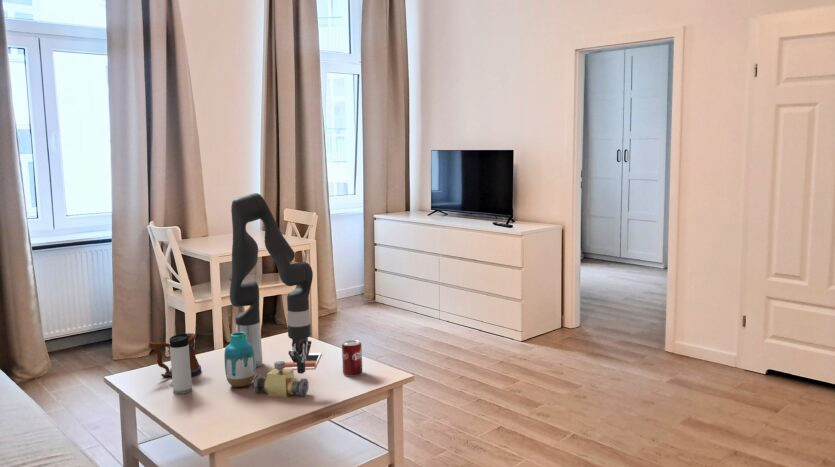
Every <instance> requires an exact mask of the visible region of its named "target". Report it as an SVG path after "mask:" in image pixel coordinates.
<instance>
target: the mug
mask: <svg viewBox="0 0 835 467" xmlns="http://www.w3.org/2000/svg"><path fill="white" fill-rule="evenodd" d="M186 334H187V335H188V344H189V356H190V369H191V377H195V376H198V375H199V374H200V373H201V371H202V366H201V365H200V364H199V361H198V359H197V357H196V351H195V344H196V343H195V340H196V333H190V332H188V333H186ZM160 347H164V348H165V347H167V348H168V350H167V353H168V354H169V356H170V357H171V355H170V343H168V342H153V341H150V342H148V348H150V349H152V348H153V349H154V351H155V352H156V354H157V356H156V357H157V358H156V359H157V360H156V361H157V366H158V367H159V368H163V369H165V372H164V373H161V374H160V375H161V377H163V378H169V377H172V368H171V367H170V368H169V366H168V365H166V364H165V363H164V362H163V354H162V353H163V352H162V351H161V349H160Z"/></svg>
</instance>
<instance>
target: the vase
mask: <svg viewBox="0 0 835 467" xmlns="http://www.w3.org/2000/svg"><path fill="white" fill-rule="evenodd" d="M223 358H224V369H225V370H224V371H225V376H226V380H227V383H228V384H229V385H231V386H232V387H235V388H242V387H246V386H249V385H251V384H252V383H254V379H255V377H256V368H255V353H254V348H253V345H252V344H251V343H249V342H247V338H246V333H245V332H233V333H231V334H230V343H229V344H228V345H226V346H225V349H224V357H223Z"/></svg>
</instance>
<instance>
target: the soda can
mask: <svg viewBox="0 0 835 467" xmlns="http://www.w3.org/2000/svg"><path fill="white" fill-rule="evenodd" d="M362 345H363V344H362V342H361V341H359V340H356V339H349V340H345V341H343V342H342V344H341V354H342V356H341V357H342V358H341V359H342V360H341V361H342V373H343V375H344V376H345V377H352V378H353V377H358V376H360V375H362V374H363V350H362Z"/></svg>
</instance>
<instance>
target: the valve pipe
mask: <svg viewBox="0 0 835 467" xmlns="http://www.w3.org/2000/svg"><path fill="white" fill-rule="evenodd" d="M294 372H295V371H294V370H293V369H292V368H283V369H275V367H274V368H273V369H271V370H270V371H269V372H267V373H266V377H264V375H263V374H257V375H255V378H254V380H253V382H252V383H253V384H252V386H253V391H254V392H255V393H261V392H262V391H264V392H265V393H267V396H268V397H275V398H284V399H287V398H288V397H289V396H294V395H296V394H298V396H300V397H303V398H304V397H305V396H307V395H308V391H309V381H308V378H305V377H304V378H301V379H300V380H298V379H297V378H296V377H295V376H294Z"/></svg>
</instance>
